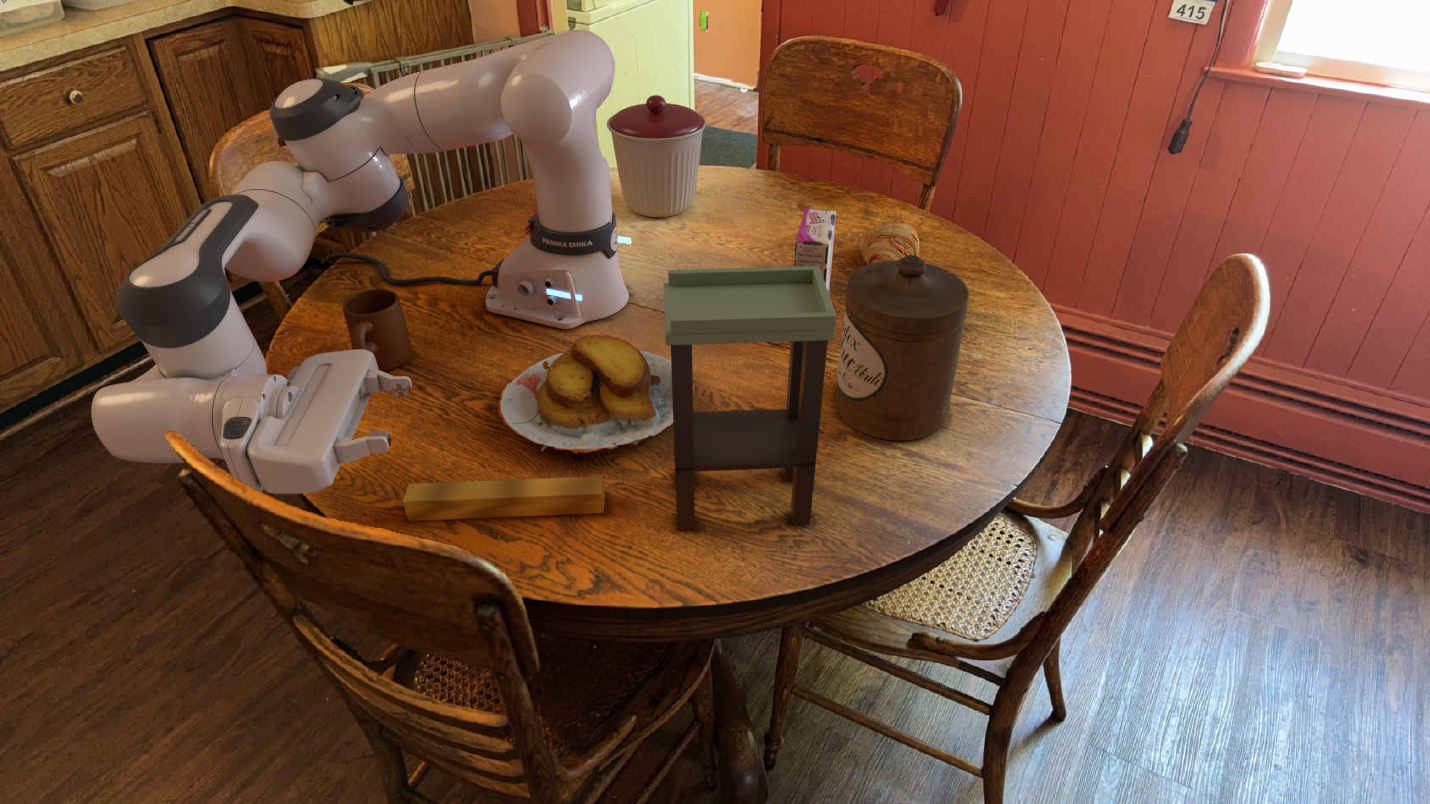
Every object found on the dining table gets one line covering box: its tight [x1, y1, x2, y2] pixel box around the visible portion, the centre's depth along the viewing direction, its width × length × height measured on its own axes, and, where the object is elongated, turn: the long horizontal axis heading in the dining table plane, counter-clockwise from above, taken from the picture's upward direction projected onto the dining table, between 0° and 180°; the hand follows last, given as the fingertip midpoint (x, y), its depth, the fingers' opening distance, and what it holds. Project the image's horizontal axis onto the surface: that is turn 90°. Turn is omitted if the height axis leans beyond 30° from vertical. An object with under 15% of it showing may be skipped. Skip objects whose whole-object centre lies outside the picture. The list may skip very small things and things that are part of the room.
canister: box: [606, 94, 707, 218], centre depth 159 cm, size 18×18×21 cm
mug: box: [342, 288, 413, 372], centre depth 118 cm, size 12×8×9 cm, turn 2°
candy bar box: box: [793, 208, 837, 294], centre depth 126 cm, size 11×5×16 cm, turn 168°
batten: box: [402, 475, 606, 522], centre depth 97 cm, size 22×3×3 cm, turn 94°
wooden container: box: [834, 255, 970, 442], centre depth 107 cm, size 15×15×22 cm
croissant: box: [858, 219, 920, 265], centre depth 146 cm, size 21×10×8 cm, turn 163°
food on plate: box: [497, 334, 696, 459], centre depth 112 cm, size 25×25×7 cm
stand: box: [663, 266, 837, 531], centre depth 92 cm, size 16×10×28 cm, turn 94°
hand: (399, 412), depth 89 cm, fingers open, 8 cm apart
